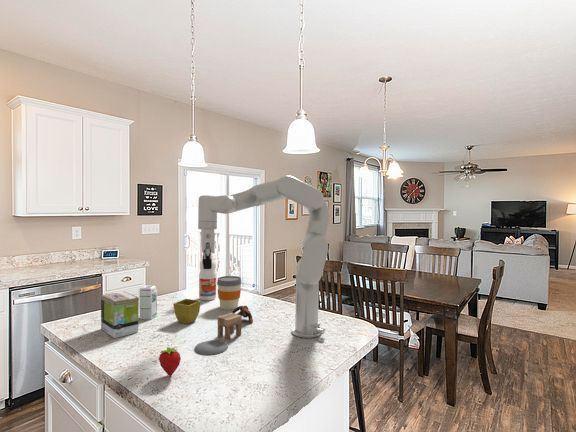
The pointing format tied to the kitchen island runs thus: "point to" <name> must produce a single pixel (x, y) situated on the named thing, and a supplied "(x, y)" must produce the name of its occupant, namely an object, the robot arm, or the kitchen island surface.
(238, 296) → the reusable coffee cup
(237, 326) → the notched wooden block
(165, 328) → the kitchen island surface
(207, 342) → the mat
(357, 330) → the kitchen island surface
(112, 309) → the tea box
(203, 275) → the white plastic bottle
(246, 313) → the brown curved piece
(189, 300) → the flower pot
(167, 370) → the strawberry
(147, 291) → the syrup box
